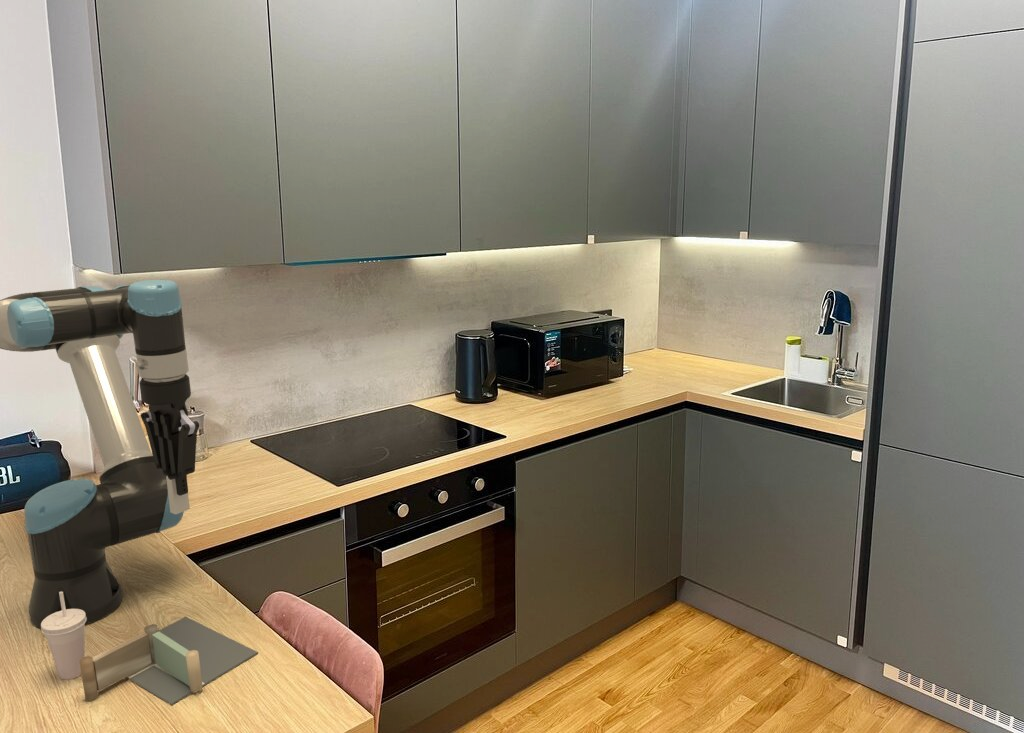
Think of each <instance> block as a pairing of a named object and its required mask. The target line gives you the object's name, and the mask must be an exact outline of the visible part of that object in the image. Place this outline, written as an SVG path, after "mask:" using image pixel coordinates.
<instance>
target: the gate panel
mask: <svg viewBox="0 0 1024 733" xmlns="http://www.w3.org/2000/svg"><path fill="white" fill-rule="evenodd" d="M152 639H153V646H154V653H155V661H156V664H158V665H159V666H161V667H162V668H163V669H165V670H166V671H168V672H169V673H171V674H172V675H174V676H175V677H176V678H178V679H179V680H181V681H182V682H184V683H185V684H187V685H188V686H190V691H191V692H193V693H197V692H200V691H201V690H202V689H203V687H204V686H202V678H201V670H200V661H199V653H198V651H197V650H192V651H189V650H187V649H186V648H184V647H183V646H181V645H179V644H178V643H176V642H175V641H173V640H172V639H170V638H169V637H167V636H165V635H164V634H162V633H161V632H157V633H155V634H152Z"/></svg>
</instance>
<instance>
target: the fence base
mask: <svg viewBox="0 0 1024 733" xmlns="http://www.w3.org/2000/svg"><path fill="white" fill-rule="evenodd" d="M143 630H144V632H143V631H142V632H141V633H139V634H137V635H136V636H133V637H131V638H129V639H126V640H125V641H123V642H121V643H119V644H117V645H115V646H113V647H111V648H108V649H107V650H105V651H103V652H101V653H99V654H97V655H95V656H94V657H92V656H91V655H87V656H86V655H85V657H83V658H82V659H80V660H79V663H80V669H81V675H80V676H81V680H82V687H83V688H82V689H83V693H84V699H85V701H86V702H93V701H96V700H97V699H98V698H99V692H100V691H103V690H105V689H107V688H108V687H110V686H112V685H114V684H115V683H117V682H120V681H121V680H122V679H126V678H125V677H127V676H128V675H130V674H132V673H134V672H136V671H138V670H140V669H141V668H143V667H145V666H147V665H149V664H156V661H155V653H154V646H153V639H152V634H155V633H157V632H158V630H159V626H158V624H156V623H155V624H154V623H152V624H151V623H150V624H148V625H146V626H145V627H144V628H143Z"/></svg>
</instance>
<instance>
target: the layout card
mask: <svg viewBox="0 0 1024 733" xmlns="http://www.w3.org/2000/svg"><path fill="white" fill-rule="evenodd" d="M158 632H161V633H162V634H164V635H165V636H167V637H169V638H170V639H172V640H173V641H175V642H176V643H178V644H179V645H181V646H183V647H184V648H186V649H187V650H189V651H192V650H197V651H198V653H199V661H200V670H201V678H202V686H203V687H205V686H206V685H208V684H210V683H211V682H213V681H215V680H217V679H219V678H220V677H222V676H224V675H225V674H227V673H228V672H230V671H231V670H234V669H236V668H237V667H238V666H239V667H240V665H241V664H244V663H245V662H247V661H249V660H250V659H253V657H255V656H256V655H259V652H258V651H257V650H254V649H253V648H250V647H249V646H248V645H247V646H246V645H244V644H242V643H240V642H238V641H236V640H234V639H232V638H230V637H228V636H226V635H224V634H222V633H220V632H218V631H216V630H214V629H212V628H209V627H208V626H205V625H203V623H202V624H201V623H199V622H197V621H195V620H193V619H192V618H189V617H187V616H184V617H182V618H180V619H178V620H175V621H174V622H172V623H170V624H168V625H167V626H164V627H163V628H160V629H158ZM124 679H126V680H128V681H130V682H132V683H134V684H135V685H137V686H138V687H140V688H142V689H144V690H145V691H147V692H149V694H150V693H151V695H153V696H156V697H157V698H158V699H160V700H162V701H164V702H165V703H166V704H168V705H170V706H173V705H176V704H177V703H179V702H180V701H182V700H184V699H185V698H187V697H188V696H190V695H191V694H193V693H194V692H191V691H190V686H188V685H187V684H185V683H184V682H182V681H181V680H179V679H178V678H176V677H175V676H174V675H172V674H171V673H169V672H168V671H166V670H165V669H163V668H162V667H161V666H159V665H158V664H149V665H147V666H145V667H143V668H141V669H140V670H138V671H136V672H134V673H132V674H130V675H128V676H127V677H125V678H124Z"/></svg>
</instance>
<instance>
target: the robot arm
mask: <svg viewBox="0 0 1024 733" xmlns="http://www.w3.org/2000/svg"><path fill="white" fill-rule="evenodd" d="M182 307H183V300H182V299H181V295H180V289H179V286H178V284H177V283H176V282H175V281H173V280H170V279H169V280H168V279H149V280H147V279H145V280H140V281H134V282H132V283H131V284H130V285H129V284H127V285H126V284H124V285H119V286H118V285H117V286H115V287H114V288H112V289H106V288H105V287H101V286H82V285H81V286H78V287H75V288H67V289H66V288H65V289H57V290H56V289H55V290H45V291H36V292H23V293H18V294H15V295H14V294H13V295H10V296H7V297H5V298H2V299H0V349H1V350H5V351H10V352H20V353H21V352H23V353H26V352H27V353H29V352H30V353H31V352H40V351H48V350H50V351H51V350H55V351H56V354H57V357H58V359H59V360H61V361H62V362H64V363H66V364H69V367H70V369H71V372H72V375H73V378H74V381H75V385H76V386H77V390H78V392H79V395H80V398H81V401H82V405H83V408H84V411H85V413H86V416H87V419H88V423H89V425H90V428H91V431H92V434H93V438H94V440H95V443H96V446H97V448H98V452H99V454H100V458H101V461H102V464H103V466H104V468H103V469H102V471H101V472H100V474H99V476H98V479H99V484H96V483H95V482H94V481H93V480H92V479H89V478H77V479H68V480H64V481H60V482H57V483H54V484H51V485H49V486H46V487H45V488H42V489H41V490H39V491H38V492H36V493H35V494H34V495H32V496H31V497H30V498H29V499H28V500H27V502H26V503H25V505H24V510H23V512H24V513H23V514H24V530H25V532H26V535H27V540H28V545H29V551H30V556H31V557H30V558H31V563H32V569H33V573H34V575H33V576H34V581H33V586H32V590H31V594H30V599H29V605H28V613H29V619H30V622H31V624H32V625H33V626H35V627H36V628H38V629H41V623H42V621H43V620H44V619H45V618H46V617H48V616H49V615H51V614H53V613H55V612H58V611H61V610H62V608H61V602H60V596H59V592H63V595H64V601H65V607H66V609H80V610H83V611H84V612H85V614H86V618H87V620H86V622H85V626H86V625H89V624H92V623H94V622H97V621H98V620H101V619H103V618H105V617H107V616H108V615H111V613H113V612H114V611H115V610H116V609H117V608H118V607H119V606H120V605H121V603H122V601H123V591H122V587H121V584H120V582H119V581H118V578H117V577H116V575H115V574H114V572H113V570H112V569H111V567H110V565H109V564H108V562H107V556H106V548H108V547H112V546H115V545H116V546H117V545H119V544H122V543H125V542H129V541H133V540H136V539H139V538H142V537H146V536H149V535H152V534H160V533H161V532H162V531H165V530H168V529H171V528H174V527H176V526H177V525H179V524H180V523H181V521H182V519H183V517H184V512H185V511H188V510H190V508H191V506H190V498H189V497H190V496H189V486H188V478H187V477H188V475H190V474H194V473H195V471H196V453H197V433H198V431H199V428H200V423H199V422H198V421H197V420H195V421H192V420H191V419H190V418H189V411H188V408H187V405H186V402H187V400H188V399H189V398H190V397H191V395H192V392H191V391H192V390H191V384H190V383H191V382H190V377H189V375H188V374H187V373H188V372H189V371H190V370H189V362H188V355H187V348H186V339H185V328H184V319H183V311H182V310H183V309H182ZM126 334H133V335H132V337H133V342H134V352H135V355H136V363H135V364H136V367H137V372H138V376H139V377H140V378H141V379H140V380H139V382H138V383H139V390H140V398H141V401H142V403H144V404H146V405H148V410H147V411H145V412H141V413H140V417H139V415H138V411H137V409H136V406H135V404H134V403H135V402H134V400H133V398H132V395H131V392H130V390H129V387H128V384H127V381H126V378H125V375H124V372H123V369H122V368H121V364H120V362H119V358H118V356H117V353H116V350H117V349H118V348H119V346H120V345H121V344H120V343H121V340H120V339H121V338H123V336H124V335H126ZM140 418H141V420H140ZM141 421H142V423H143V425H144V427H145V430H146V434H147V436H146V434H145V431H144V429H143V426H142V424H141ZM147 439H148V440H147Z"/></svg>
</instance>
